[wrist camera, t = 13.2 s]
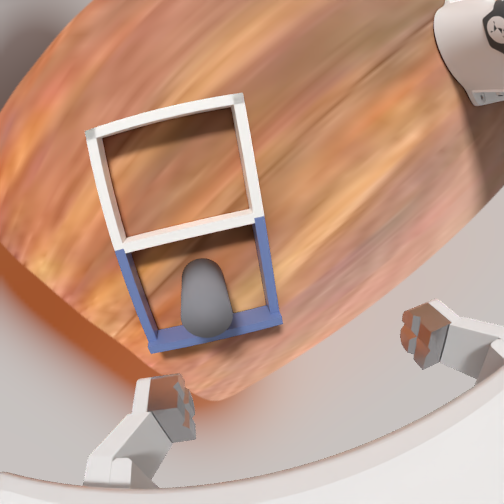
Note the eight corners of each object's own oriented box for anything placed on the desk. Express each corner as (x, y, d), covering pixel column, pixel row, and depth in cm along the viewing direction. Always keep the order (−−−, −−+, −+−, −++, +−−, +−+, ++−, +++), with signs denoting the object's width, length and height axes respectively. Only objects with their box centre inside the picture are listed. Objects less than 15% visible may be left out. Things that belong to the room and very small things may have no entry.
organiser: (239, 96, 27) (244, 90, 24) (275, 310, 36) (282, 323, 33) (91, 131, 25) (81, 130, 22) (153, 338, 34) (150, 353, 31)
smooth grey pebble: (217, 254, 32) (226, 287, 24) (226, 290, 33) (237, 331, 26) (177, 263, 31) (174, 300, 24) (188, 299, 33) (189, 342, 26)
